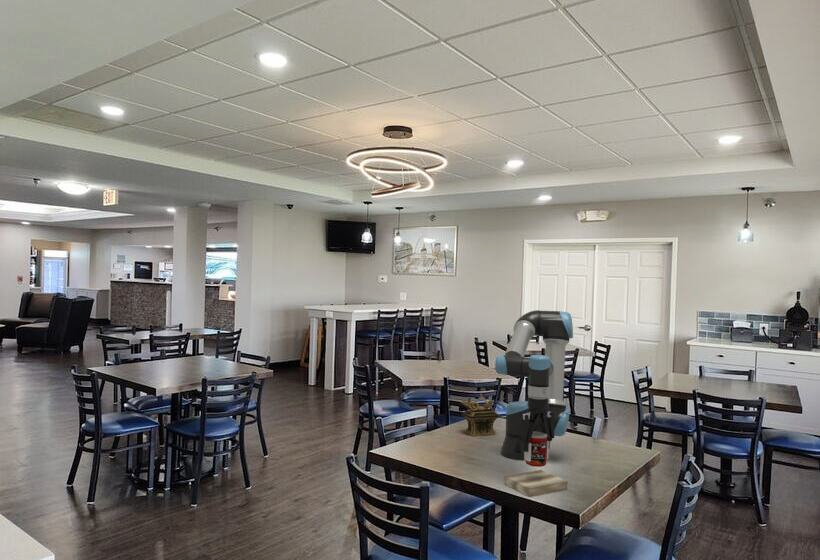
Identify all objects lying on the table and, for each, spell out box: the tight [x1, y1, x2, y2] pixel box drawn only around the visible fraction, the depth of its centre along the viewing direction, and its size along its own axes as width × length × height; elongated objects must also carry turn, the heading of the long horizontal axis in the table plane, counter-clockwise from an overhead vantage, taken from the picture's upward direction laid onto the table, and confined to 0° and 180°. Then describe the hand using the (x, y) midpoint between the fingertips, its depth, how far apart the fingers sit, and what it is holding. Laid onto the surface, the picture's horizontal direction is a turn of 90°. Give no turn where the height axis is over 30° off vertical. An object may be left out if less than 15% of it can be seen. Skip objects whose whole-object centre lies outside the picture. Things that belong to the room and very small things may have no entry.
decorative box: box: [460, 393, 500, 437], centre depth 281 cm, size 20×10×20 cm, turn 111°
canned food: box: [524, 431, 548, 468], centre depth 206 cm, size 8×8×11 cm
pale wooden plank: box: [503, 469, 568, 498], centre depth 206 cm, size 14×18×3 cm
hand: (536, 459), depth 206 cm, fingers closed on canned food, 8 cm apart
